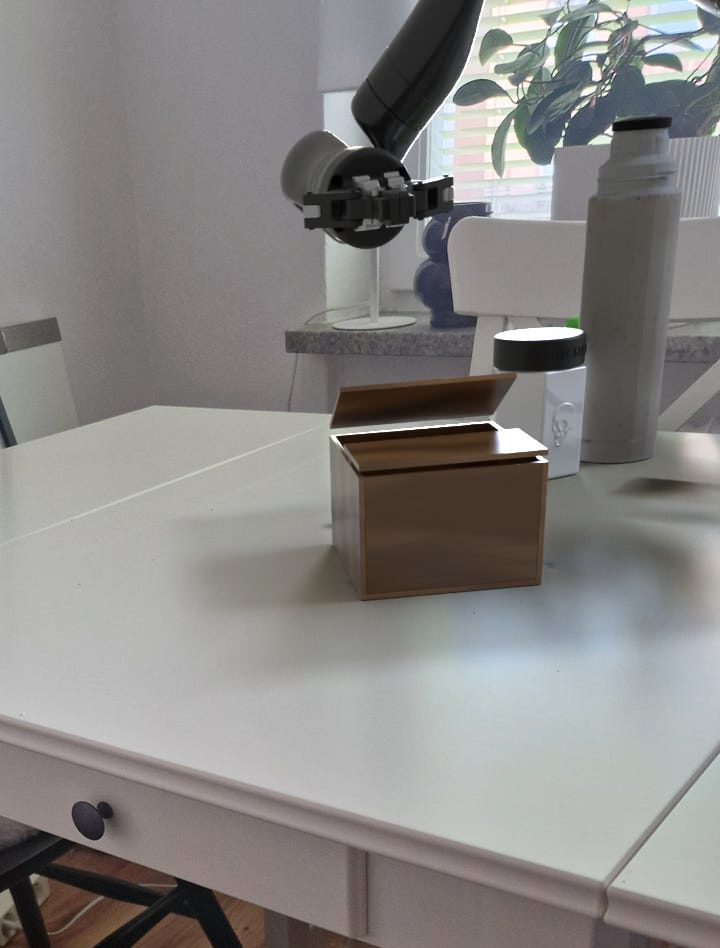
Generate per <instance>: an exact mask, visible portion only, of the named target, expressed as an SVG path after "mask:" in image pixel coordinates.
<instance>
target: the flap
mask: <svg viewBox="0 0 720 948" xmlns="http://www.w3.org/2000/svg"><path fill="white" fill-rule="evenodd" d="M516 378H517V372H512V373H501V374H491V373H490V374H489V373H488V374H479V375H466V376H456V377H447V378H446V377H443V378H432V379H431V378H430V379H421V380H419V379H418V380H409V381H398V382H397V381H396V382H384V383H373V384H363V385H361V384H360V385H350V386H340V387H339V388H338V393H337V395H336V399H335V403H334V407H333V411H332V414H331V418H330V421H329V430H336V429H347V428H348V429H349V428H359V427H372V426H373V427H374V426H382V425H383V426H384V425H395V424H406V423H415V422H416V423H418V422H427V421H428V422H429V421H430V422H431V421H441V420H442V421H443V420H454V419H462V418H463V419H464V418H475V417H477V418H478V417H487V416H490V415H493V414H494V412H495V411H496V409H497V408H498V406H499V404H500V403H501V401H502V400H503V398H504V397H505V395H506V394H507V392H508V391H509V389H510V387H511V386H512V384H513V383H514V381H515V380H516Z"/></svg>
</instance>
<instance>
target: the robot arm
mask: <svg viewBox="0 0 720 948" xmlns="http://www.w3.org/2000/svg"><path fill="white" fill-rule="evenodd" d="M485 2H486V0H417V2H416V4H415V5H414V7H413V9H412V10H411V12H410V14H409V15H408V16H407V18H406V20H405V21H404V23H403V24H402V26H401V27H400V29H399V30H398V31H397V33H396V34H395V35H394V37H393V38H392V40H391V41H390V43H389V44H388V45H387V47H386V49H385V50H384V51H383V52H382V54H381V56H380V57H379V58H378V60H377V61H376V62H375V64H374V65H373V67H372V68H371V70H370V71H369V73H368V74H367V76H366V77H365V78H364V80H362V82H361V84H360V85H359V87H358V88H357V90H356V91H355V93H354V95H353V97H352V99H351V103H350V111H351V115H352V117H353V119H354V121H355V123H356V124H357V126H358V127H359V129H360V131H361V132H362V133H363V134H364V136H365V138H366V139H367V140H368V142H369V144H370V146H362V145H361V146H360V145H359V146H358V145H357V146H349V145H347V144H346V143H345V142H344V141H343V140H342V139H340V137H338V136H337V135H335V134H334V133H332V132H331V131H329V130H326V129H317V130H313V131H311V132H308V133H306V134H305V135H304V136H302V137H301V138H299V139H298V140H297V141H296V142H295V143H294V144H293V146H292V147H291V148H290V150H289V151H288V152H287V155H285V158H284V161H283V163H282V167H281V171H280V175H279V176H280V177H279V182H280V183H279V185H280V190H281V193H282V195H283V196H284V198H285V199H286V201H288V203H290V204H291V205H292V206H293V207H294V208H295V209H297V211H298V212H301V214H302V215H303V226H304V227H303V228H304V229H307V230H308V231H313V230H316V229H320V230H321V231H322V233H325V234H326V235H327V236H328V237H329V238H331V240H333V241H334V242H336V243H338V244H340V245H348V246H349V247H353V248H355V249H360V250H373V249H377V248H381V247H383V246H385V245H387V244H388V243H390V242H391V241H393V239H395V238H396V237H397V236H398V235H399V234H400V233H401V231H402V230H403V229H404V227H405V226H406V225H409V224H410V218H412V220H417V221H419V222H420V221H425V219H427V218H431V217H434V216H437V215H441V214H447V213H450V212H451V211H454V209H455V208H454V207H455V206H454V205H455V204H454V202H455V201H454V199H455V186H454V185H455V184H454V175H450V174H449V173H447V174H442V176H438V177H433V178H432V177H431V178H428V179H427V180H420V179H412V177H411V174H410V173H409V171H408V169H407V168H406V166H405V165H404V163H403V161H404V159H405V158H406V156H407V154H408V152H409V151H410V149H411V148H412V146H413V145H414V143H415V141H416V140H417V139H418V138H419V136H420V134H421V133H422V131H424V129H425V128H426V127H427V125H428V124H429V123H430V122H431V120H432V119H433V118H434V116H435V115H436V114H437V112H438V111H439V110H440V108H441V107H442V106H443V105H444V103H445V102H446V100H447V99H448V98H449V97H450V95H451V93H452V92H453V90H454V89H455V88H456V86H457V84H458V82H459V81H460V79H461V78H462V75H463V74H464V71H465V70H466V68H467V65H468V62H469V60H470V57H471V54H472V51H473V48H474V43H475V40H476V36H477V32H478V29H479V25H480V22H481V21H480V20H481V16H482V12H483V9H484V6H485ZM687 2H690V3H692V4H693V5H694V6H696V7H698V8H700V9H701V10H704V11H705V12H707V13H709V14H711V15H713V16H715V17H716V18H719V19H720V0H687Z"/></svg>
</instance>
